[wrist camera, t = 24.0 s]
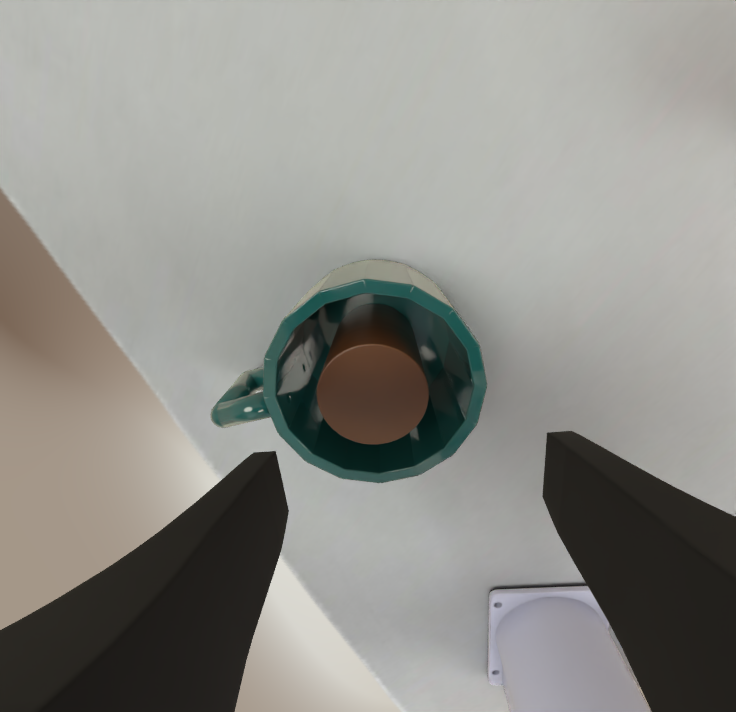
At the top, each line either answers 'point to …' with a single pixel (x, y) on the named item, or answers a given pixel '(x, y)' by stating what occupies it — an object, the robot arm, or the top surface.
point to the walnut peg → (373, 377)
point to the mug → (308, 355)
